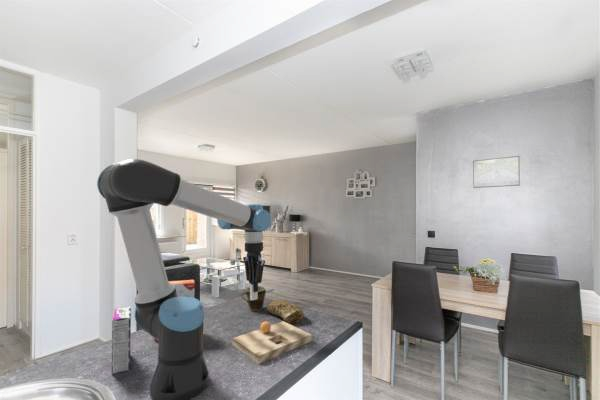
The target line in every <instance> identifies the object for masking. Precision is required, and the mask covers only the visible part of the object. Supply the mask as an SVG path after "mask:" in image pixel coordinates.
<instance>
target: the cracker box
mask: <svg viewBox="0 0 600 400" xmlns="http://www.w3.org/2000/svg"><path fill="white" fill-rule="evenodd" d="M168 282H169V283H171V284H174V285H175V288H176V292H177V296H178V297H188V298H189V297H192V298H195V293H196V290H195V287H196V286H195V285H196V283H195V279H188V280H187V279H184V280H183V279H182V280H170V281H169V280H168ZM153 340H154V342H155V341H158V340H157V339H155V338H154V337H153Z"/></svg>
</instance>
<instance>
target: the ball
mask: <svg viewBox="0 0 600 400" xmlns="http://www.w3.org/2000/svg"><path fill="white" fill-rule="evenodd" d="M271 325H272V324H271V323H270V322H269V321H263V322H261V324H260V327H259V329H261V331H262V332H264V333H267V332H269V331H270V329H271Z"/></svg>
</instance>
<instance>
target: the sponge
mask: <svg viewBox="0 0 600 400" xmlns="http://www.w3.org/2000/svg"><path fill="white" fill-rule="evenodd" d="M266 309H267V312H269V313H270V314H272V315H274V316H277V317H281V318H282V319H283V320H284V322H286V323H288V324H291V323H300V322H302V320H303V318H304V316H305V315H304V312H303V310H302V308H301V307H300V306H298V305H297V304H294V303H292V302H290V301H287V300H284V299H274V300H272V301H269V302H268V303H267V304H266Z"/></svg>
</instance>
